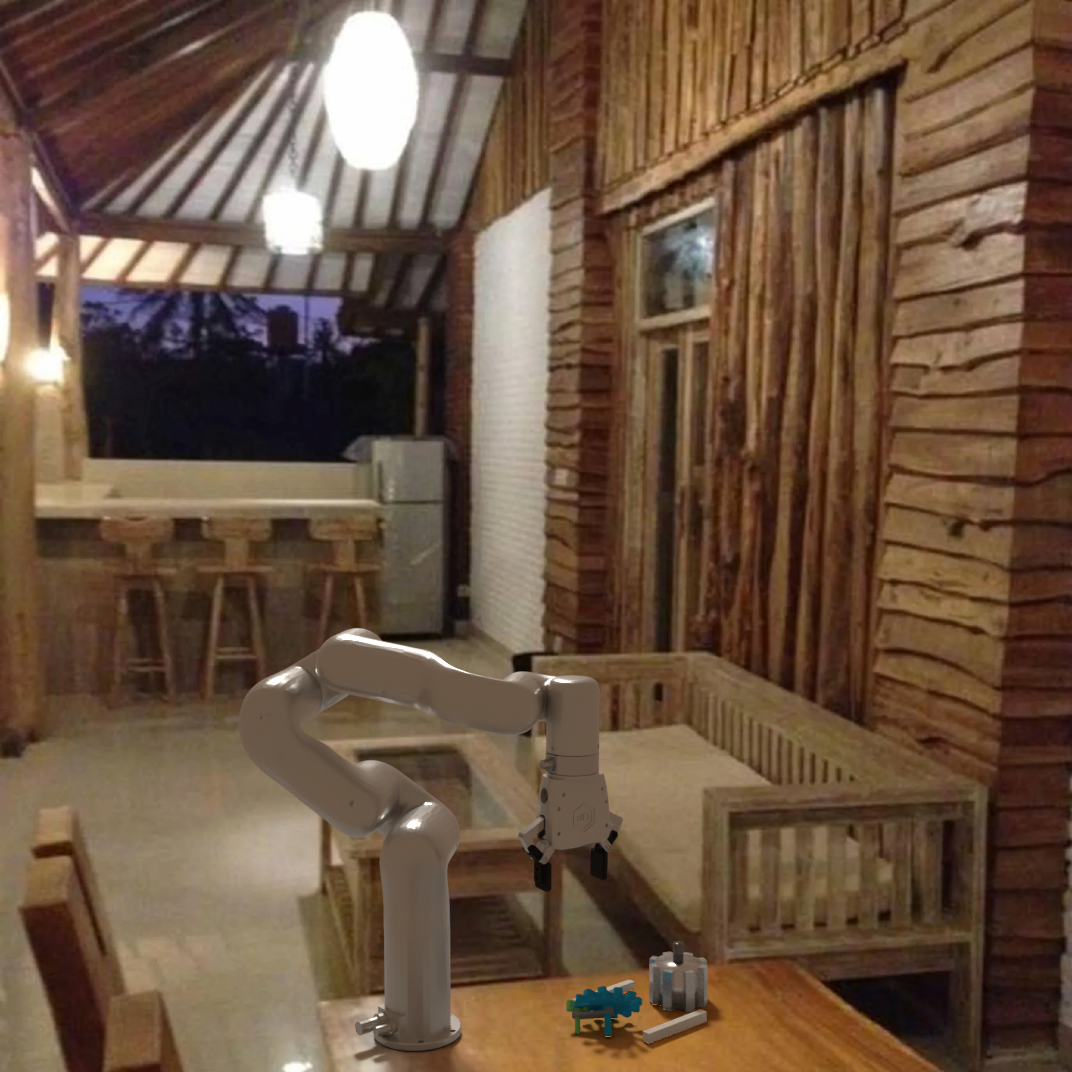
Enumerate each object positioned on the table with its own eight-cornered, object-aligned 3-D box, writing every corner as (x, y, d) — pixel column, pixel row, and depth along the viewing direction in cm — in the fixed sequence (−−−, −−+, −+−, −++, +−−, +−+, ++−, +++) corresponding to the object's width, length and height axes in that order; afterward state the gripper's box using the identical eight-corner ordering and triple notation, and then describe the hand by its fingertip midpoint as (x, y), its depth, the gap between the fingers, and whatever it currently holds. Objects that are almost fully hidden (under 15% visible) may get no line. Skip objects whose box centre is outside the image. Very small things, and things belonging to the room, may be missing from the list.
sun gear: (678, 1017, 198) (679, 957, 197) (637, 999, 204) (637, 941, 204) (719, 1001, 203) (719, 944, 203) (677, 984, 210) (677, 928, 210)
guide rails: (648, 1044, 188) (648, 1033, 188) (572, 1008, 201) (572, 998, 201) (706, 1021, 196) (706, 1011, 196) (629, 988, 208) (629, 979, 208)
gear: (647, 1008, 197) (635, 979, 190) (648, 1048, 193) (636, 1020, 186) (574, 1013, 199) (560, 984, 192) (573, 1052, 195) (559, 1025, 188)
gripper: (536, 776, 179) (535, 901, 180) (637, 761, 189) (635, 880, 190) (506, 766, 185) (505, 886, 186) (605, 752, 195) (604, 867, 196)
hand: (571, 883), depth 188 cm, fingers open, 9 cm apart
